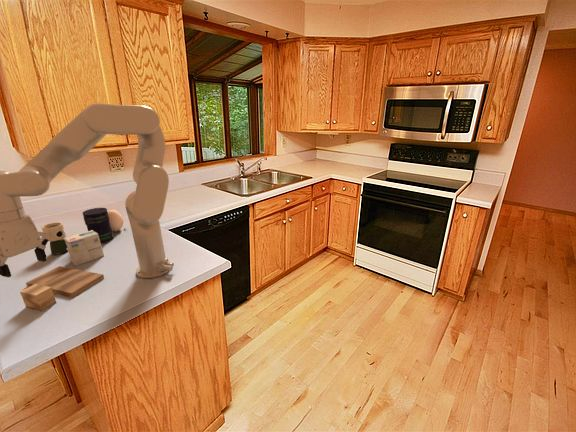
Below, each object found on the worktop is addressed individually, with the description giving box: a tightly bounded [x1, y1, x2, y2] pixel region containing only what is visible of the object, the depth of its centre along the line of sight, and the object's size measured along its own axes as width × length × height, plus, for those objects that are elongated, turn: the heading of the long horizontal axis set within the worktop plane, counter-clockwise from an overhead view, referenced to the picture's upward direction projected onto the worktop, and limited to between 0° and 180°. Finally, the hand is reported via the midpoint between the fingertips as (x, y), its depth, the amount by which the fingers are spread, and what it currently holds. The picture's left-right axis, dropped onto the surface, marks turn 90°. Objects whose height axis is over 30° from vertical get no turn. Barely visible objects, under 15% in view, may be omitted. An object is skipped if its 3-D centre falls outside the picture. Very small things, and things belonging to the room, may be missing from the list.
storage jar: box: [82, 207, 115, 245], centre depth 136 cm, size 10×10×15 cm
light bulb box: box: [63, 230, 105, 266], centre depth 120 cm, size 11×7×11 cm, turn 141°
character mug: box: [41, 221, 68, 255], centre depth 125 cm, size 11×7×13 cm, turn 10°
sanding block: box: [19, 284, 57, 312], centre depth 92 cm, size 7×4×6 cm, turn 73°
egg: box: [107, 209, 124, 232], centre depth 147 cm, size 8×8×11 cm
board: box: [25, 265, 105, 298], centre depth 104 cm, size 22×12×2 cm, turn 73°
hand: (25, 268), depth 88 cm, fingers open, 9 cm apart
